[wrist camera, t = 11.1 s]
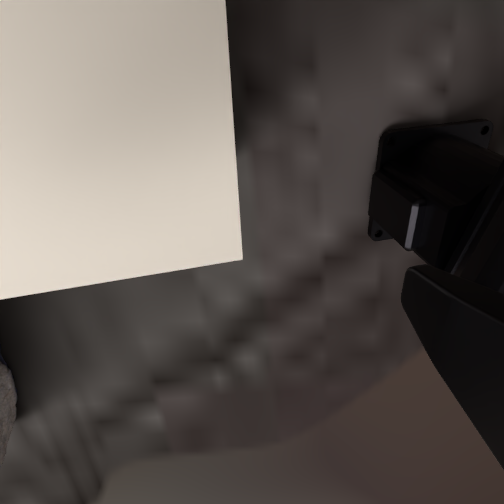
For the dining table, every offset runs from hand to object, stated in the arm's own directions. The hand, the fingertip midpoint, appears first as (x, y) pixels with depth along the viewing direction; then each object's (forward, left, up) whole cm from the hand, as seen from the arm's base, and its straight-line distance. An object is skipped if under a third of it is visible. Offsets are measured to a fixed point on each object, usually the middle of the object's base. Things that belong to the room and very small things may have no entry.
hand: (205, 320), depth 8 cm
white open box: (+3, -3, -13) cm, 14 cm away
